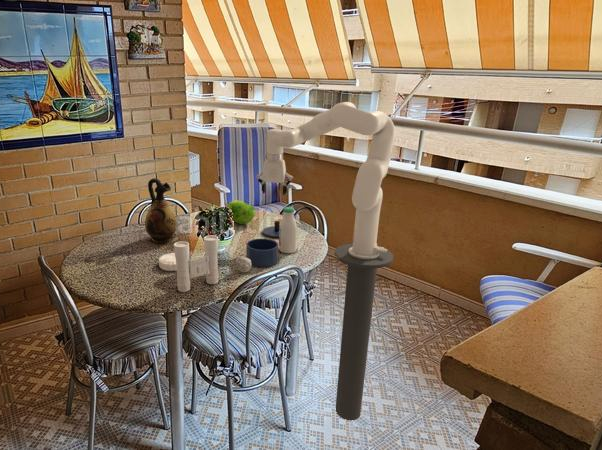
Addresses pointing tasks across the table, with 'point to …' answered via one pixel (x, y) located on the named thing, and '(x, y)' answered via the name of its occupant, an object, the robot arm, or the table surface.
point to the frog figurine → (243, 263)
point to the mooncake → (168, 262)
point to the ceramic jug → (160, 214)
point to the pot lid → (272, 230)
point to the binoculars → (196, 263)
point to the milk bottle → (288, 231)
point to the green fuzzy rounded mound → (241, 212)
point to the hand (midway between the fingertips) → (274, 193)
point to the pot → (262, 252)
